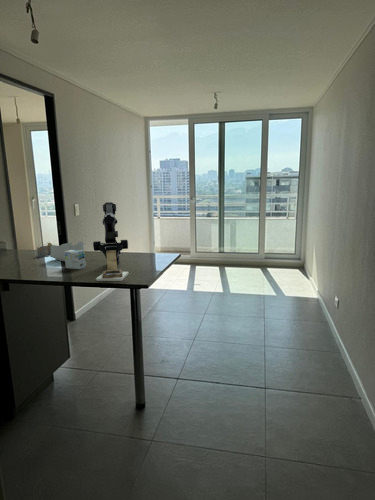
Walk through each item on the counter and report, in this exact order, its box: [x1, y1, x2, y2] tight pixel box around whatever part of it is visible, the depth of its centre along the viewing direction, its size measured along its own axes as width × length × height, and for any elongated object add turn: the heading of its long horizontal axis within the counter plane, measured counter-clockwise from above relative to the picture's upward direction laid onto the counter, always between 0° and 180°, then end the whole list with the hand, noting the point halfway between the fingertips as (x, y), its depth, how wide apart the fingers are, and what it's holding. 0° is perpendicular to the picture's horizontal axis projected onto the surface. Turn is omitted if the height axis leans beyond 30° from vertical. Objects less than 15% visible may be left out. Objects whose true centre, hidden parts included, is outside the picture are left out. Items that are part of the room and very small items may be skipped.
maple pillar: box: [106, 250, 118, 271], centre depth 180 cm, size 5×5×10 cm
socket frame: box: [102, 269, 123, 278], centre depth 181 cm, size 10×10×2 cm
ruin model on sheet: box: [36, 242, 54, 258], centre depth 243 cm, size 11×3×10 cm, turn 149°
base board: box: [95, 271, 130, 282], centre depth 181 cm, size 14×14×1 cm
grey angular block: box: [49, 240, 85, 262], centre depth 227 cm, size 20×19×12 cm
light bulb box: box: [64, 249, 87, 270], centre depth 204 cm, size 11×7×11 cm, turn 71°
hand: (111, 257), depth 178 cm, fingers closed on maple pillar, 5 cm apart
